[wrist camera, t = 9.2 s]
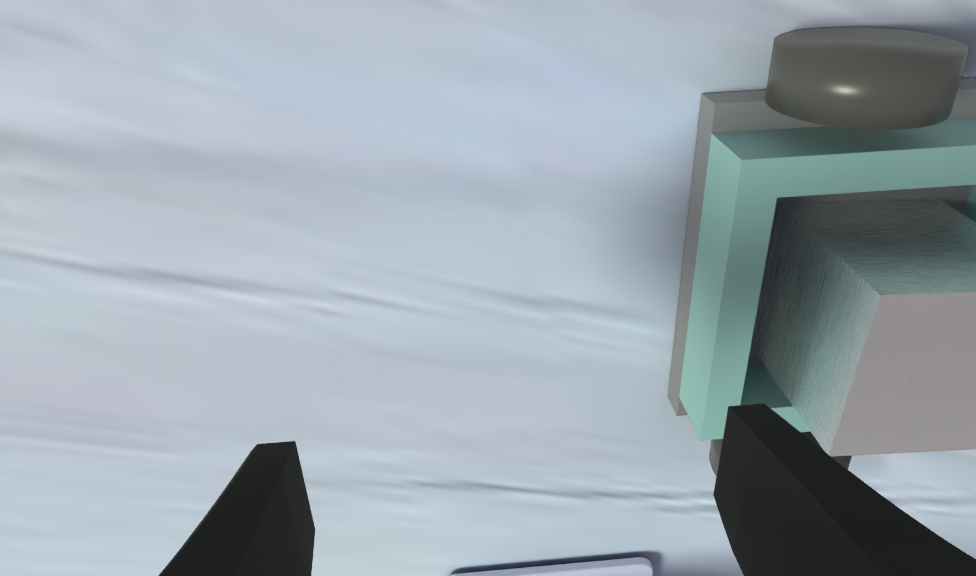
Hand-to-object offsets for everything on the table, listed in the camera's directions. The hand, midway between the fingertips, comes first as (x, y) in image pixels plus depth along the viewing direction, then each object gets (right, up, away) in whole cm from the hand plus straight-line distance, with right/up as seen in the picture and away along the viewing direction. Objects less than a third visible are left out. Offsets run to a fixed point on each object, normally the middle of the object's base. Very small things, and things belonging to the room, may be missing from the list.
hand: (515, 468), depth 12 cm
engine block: (+10, +4, +9) cm, 13 cm away
